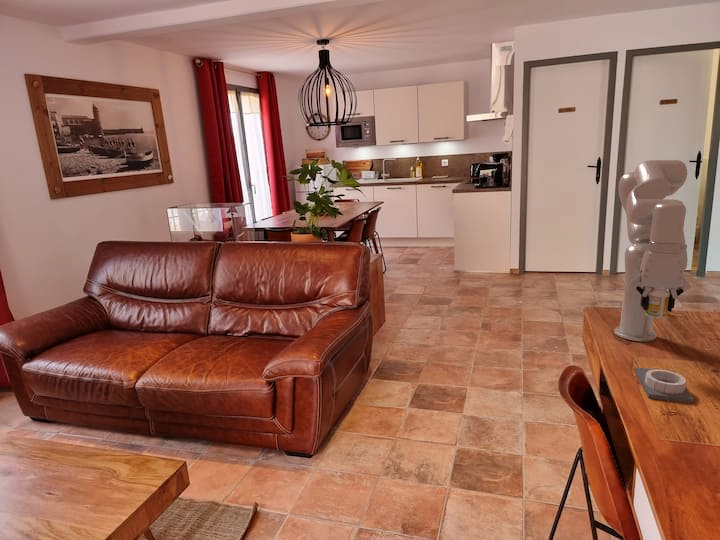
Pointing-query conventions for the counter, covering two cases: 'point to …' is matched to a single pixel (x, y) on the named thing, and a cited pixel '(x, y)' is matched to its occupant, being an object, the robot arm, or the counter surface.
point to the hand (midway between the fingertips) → (656, 309)
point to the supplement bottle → (658, 303)
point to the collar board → (659, 394)
